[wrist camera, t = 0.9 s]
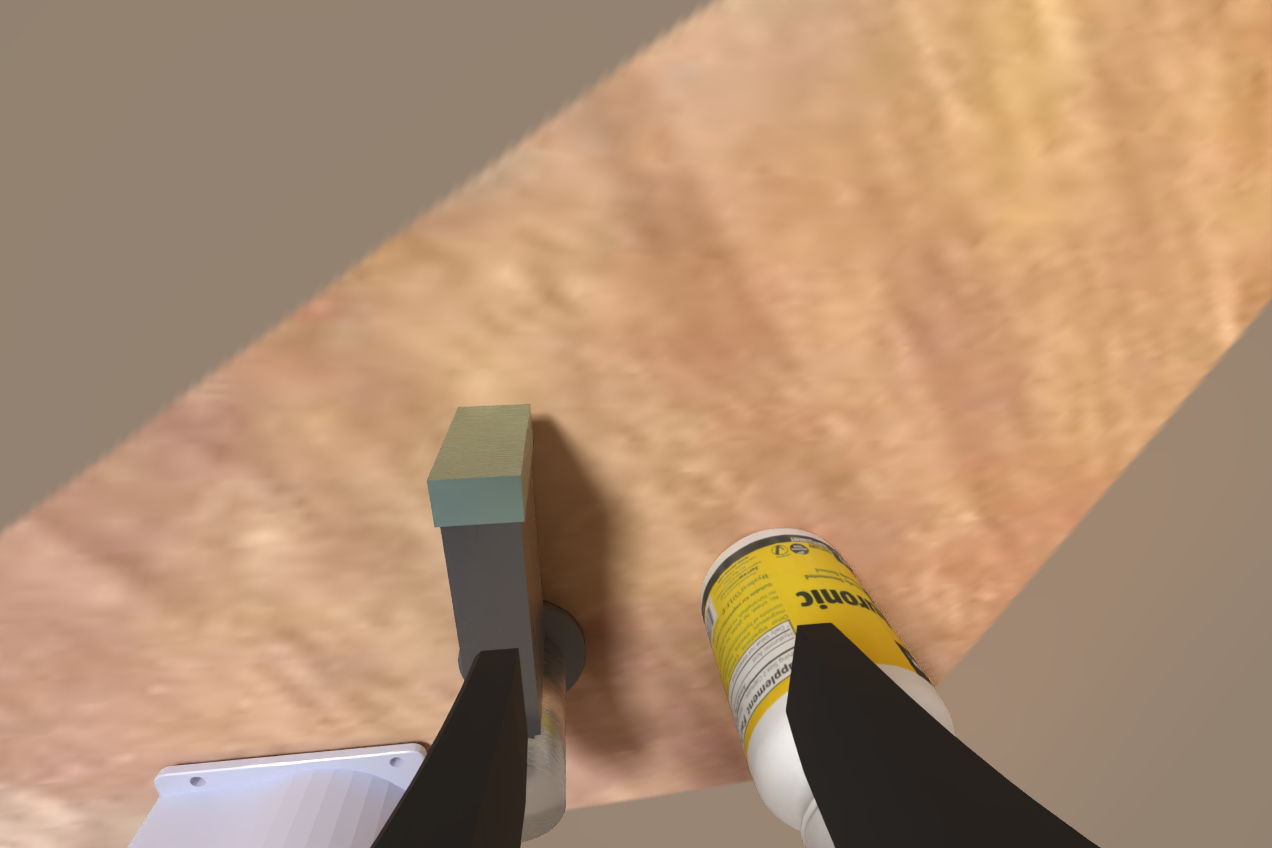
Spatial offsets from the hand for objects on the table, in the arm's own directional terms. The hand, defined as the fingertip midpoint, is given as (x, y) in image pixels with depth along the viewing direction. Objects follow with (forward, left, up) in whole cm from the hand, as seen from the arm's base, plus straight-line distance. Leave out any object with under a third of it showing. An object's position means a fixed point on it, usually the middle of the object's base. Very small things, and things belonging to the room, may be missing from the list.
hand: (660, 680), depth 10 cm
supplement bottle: (+5, -6, -10) cm, 13 cm away
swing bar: (-3, -4, -8) cm, 10 cm away
